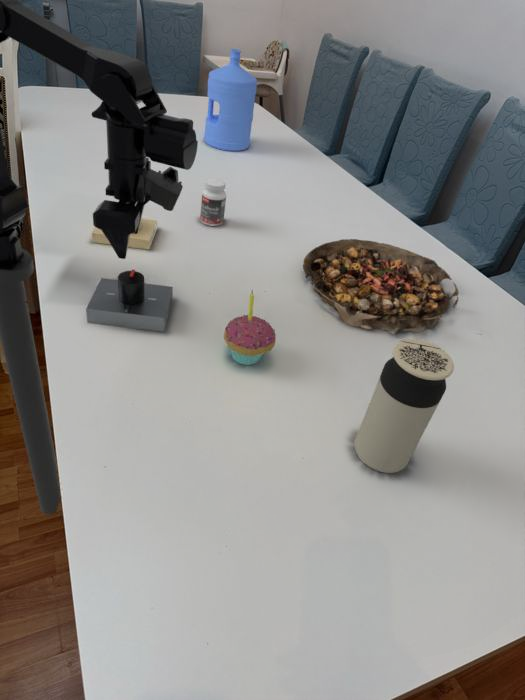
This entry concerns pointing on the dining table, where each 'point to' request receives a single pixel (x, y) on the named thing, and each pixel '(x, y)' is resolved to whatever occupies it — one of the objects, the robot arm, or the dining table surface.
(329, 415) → the dining table surface
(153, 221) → the housing
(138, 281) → the knob
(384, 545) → the dining table surface
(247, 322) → the cupcake
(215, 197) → the pill bottle
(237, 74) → the water jug
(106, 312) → the panel
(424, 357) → the travel mug
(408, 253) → the food dish
